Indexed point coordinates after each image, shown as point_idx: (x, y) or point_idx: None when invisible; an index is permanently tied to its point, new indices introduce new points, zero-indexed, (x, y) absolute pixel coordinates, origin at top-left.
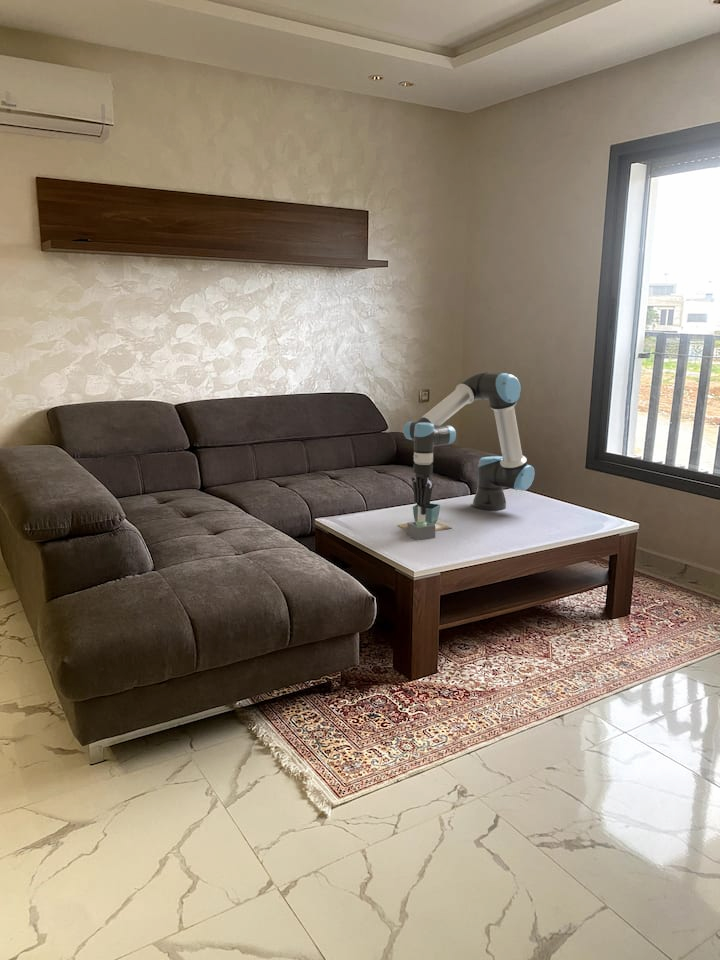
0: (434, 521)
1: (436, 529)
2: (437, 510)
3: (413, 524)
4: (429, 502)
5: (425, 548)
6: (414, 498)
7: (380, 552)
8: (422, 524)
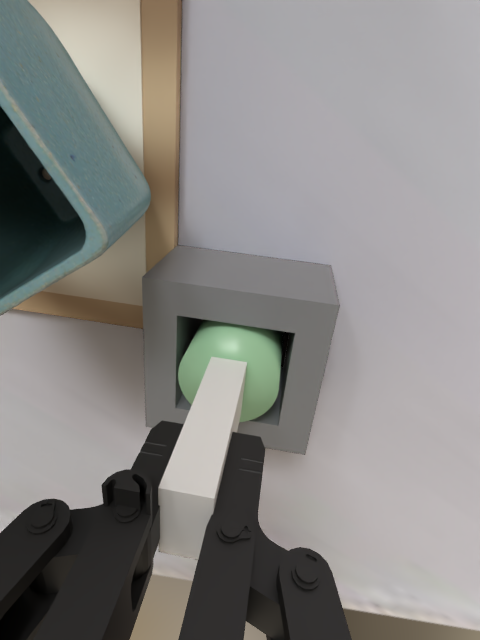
0: (100, 108)
1: (174, 122)
2: (4, 32)
3: None
4: (344, 627)
5: (468, 455)
6: (8, 611)
7: (358, 605)
8: (272, 399)
